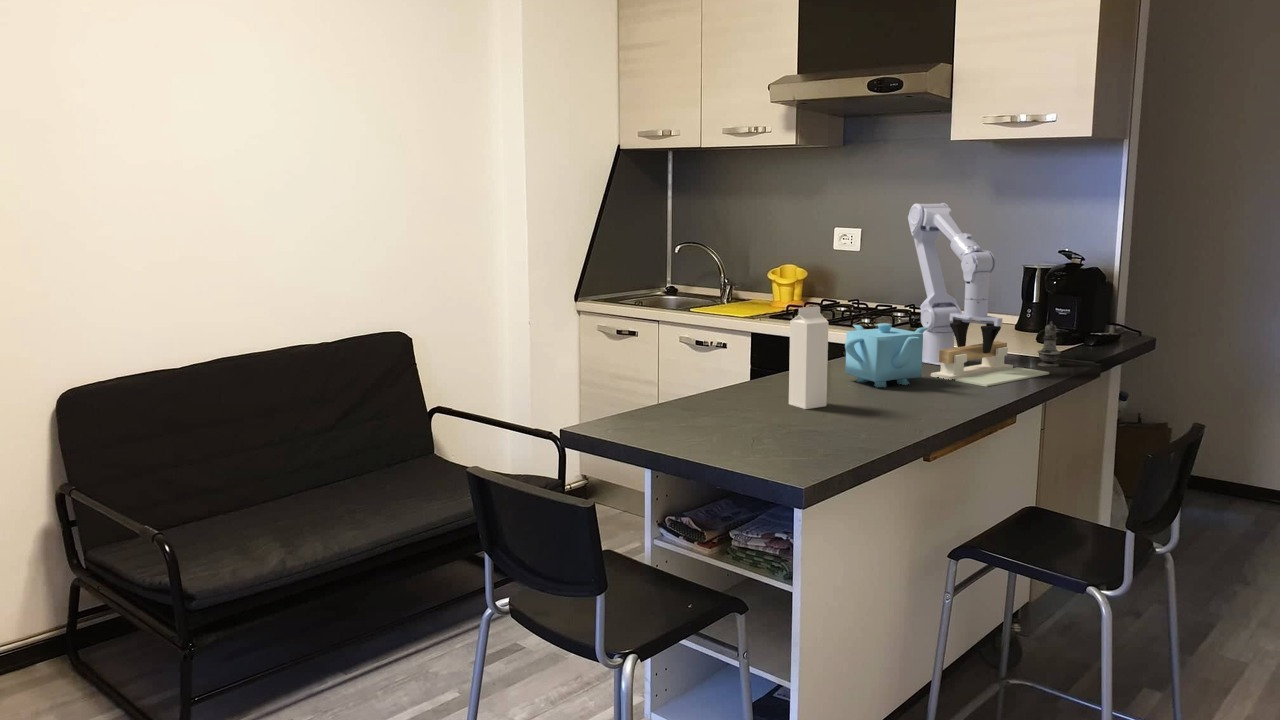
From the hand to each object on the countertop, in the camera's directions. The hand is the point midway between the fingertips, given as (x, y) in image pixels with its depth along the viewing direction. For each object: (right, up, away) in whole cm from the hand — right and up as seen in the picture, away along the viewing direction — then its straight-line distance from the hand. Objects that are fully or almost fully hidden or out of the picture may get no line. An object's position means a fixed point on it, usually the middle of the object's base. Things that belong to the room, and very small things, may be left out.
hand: (973, 351), depth 249 cm
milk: (-49, -13, -35) cm, 62 cm away
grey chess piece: (+24, -4, +10) cm, 26 cm away
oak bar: (0, -2, 0) cm, 2 cm away
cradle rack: (0, -6, +1) cm, 6 cm away
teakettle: (-25, -8, -10) cm, 29 cm away
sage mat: (+5, -7, -6) cm, 11 cm away
